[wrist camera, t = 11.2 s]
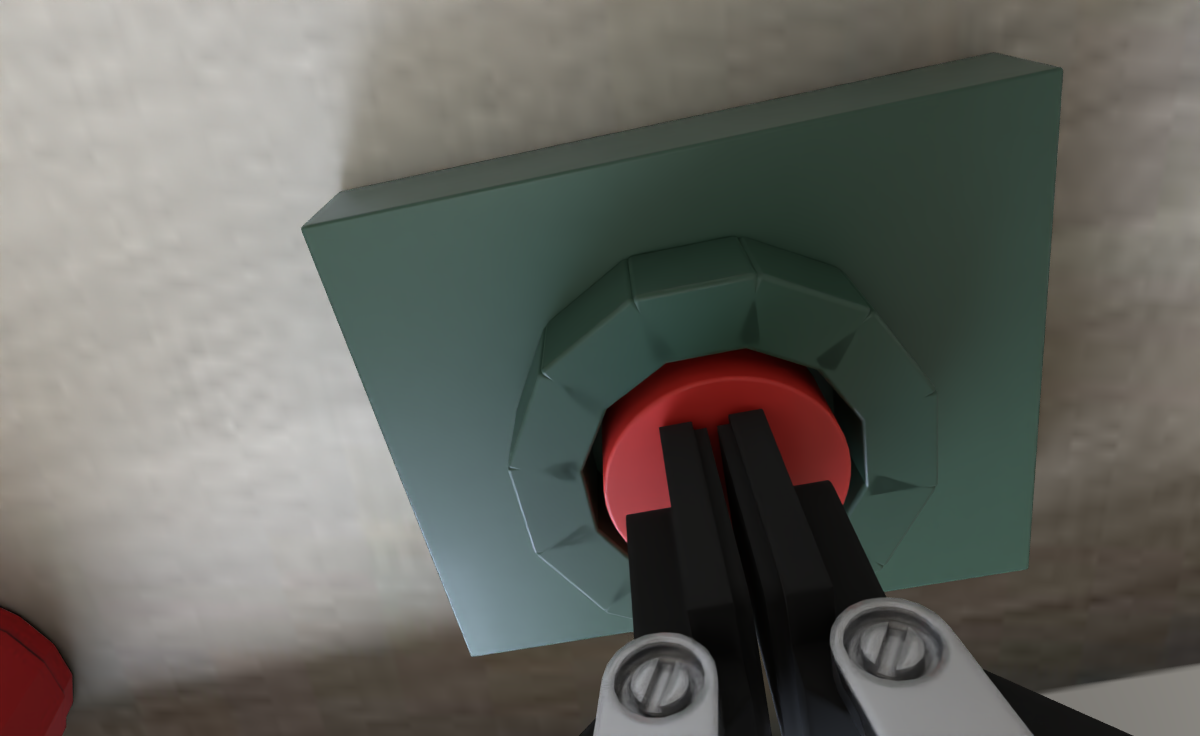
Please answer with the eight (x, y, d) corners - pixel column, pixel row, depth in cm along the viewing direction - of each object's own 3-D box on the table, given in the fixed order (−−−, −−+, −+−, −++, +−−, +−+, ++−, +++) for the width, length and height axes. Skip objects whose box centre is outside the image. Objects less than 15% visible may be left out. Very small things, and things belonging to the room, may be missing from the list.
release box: (996, 51, 13) (1142, 83, 10) (981, 504, 18) (1078, 637, 14) (337, 191, 14) (256, 266, 11) (483, 587, 19) (458, 730, 15)
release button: (814, 308, 13) (845, 354, 11) (829, 496, 15) (858, 559, 13) (580, 352, 13) (579, 403, 12) (624, 531, 15) (628, 597, 14)
